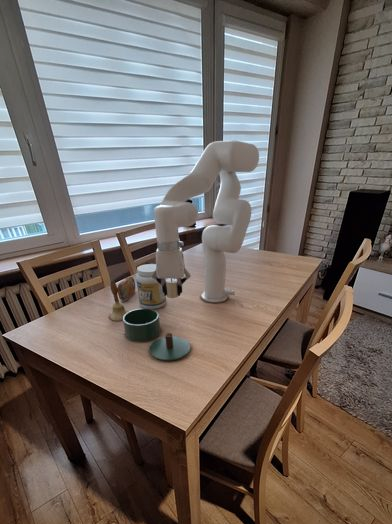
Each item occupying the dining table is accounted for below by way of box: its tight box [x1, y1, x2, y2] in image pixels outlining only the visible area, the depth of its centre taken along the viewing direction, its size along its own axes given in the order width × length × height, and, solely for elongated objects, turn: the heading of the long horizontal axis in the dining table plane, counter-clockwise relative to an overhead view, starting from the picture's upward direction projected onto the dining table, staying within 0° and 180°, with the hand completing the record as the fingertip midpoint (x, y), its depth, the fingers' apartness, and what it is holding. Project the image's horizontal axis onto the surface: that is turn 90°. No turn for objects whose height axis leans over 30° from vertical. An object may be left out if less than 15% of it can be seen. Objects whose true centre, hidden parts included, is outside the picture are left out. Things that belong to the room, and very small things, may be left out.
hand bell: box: [109, 279, 129, 322], centre depth 112 cm, size 8×8×16 cm
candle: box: [165, 279, 179, 299], centre depth 104 cm, size 5×5×7 cm
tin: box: [117, 276, 136, 302], centre depth 131 cm, size 15×3×8 cm, turn 168°
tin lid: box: [148, 332, 191, 362], centre depth 94 cm, size 14×14×6 cm
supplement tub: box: [135, 263, 167, 310], centre depth 121 cm, size 12×12×17 cm
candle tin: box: [122, 307, 162, 343], centre depth 103 cm, size 13×13×7 cm
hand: (172, 293), depth 105 cm, fingers closed on candle, 4 cm apart
